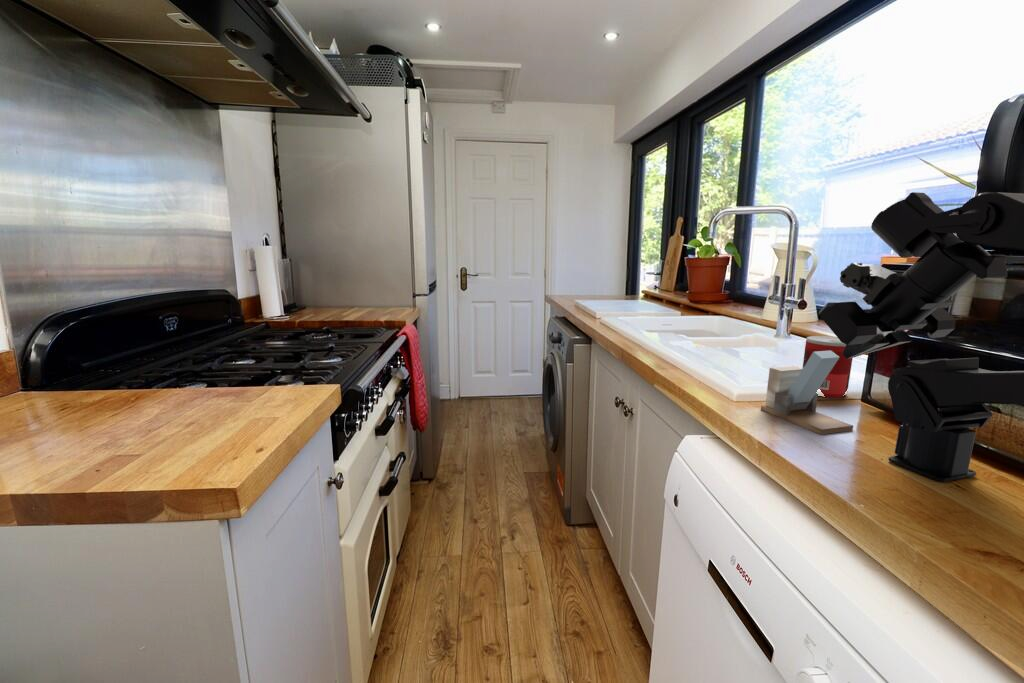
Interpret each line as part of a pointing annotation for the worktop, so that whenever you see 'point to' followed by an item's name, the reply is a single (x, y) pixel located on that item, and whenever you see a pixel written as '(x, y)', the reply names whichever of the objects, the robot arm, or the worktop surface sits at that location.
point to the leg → (811, 378)
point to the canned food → (840, 372)
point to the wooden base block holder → (781, 402)
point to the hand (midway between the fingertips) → (846, 356)
